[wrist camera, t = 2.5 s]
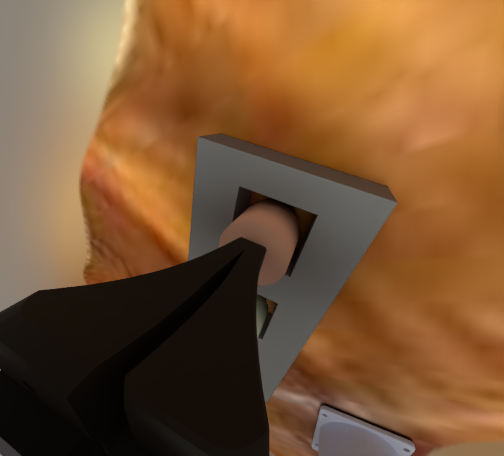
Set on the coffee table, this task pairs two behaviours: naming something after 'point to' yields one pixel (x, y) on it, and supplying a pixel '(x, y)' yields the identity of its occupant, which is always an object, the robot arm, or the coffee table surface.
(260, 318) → the sage button
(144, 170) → the coffee table surface
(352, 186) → the button panel
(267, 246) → the terracotta button
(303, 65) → the coffee table surface
